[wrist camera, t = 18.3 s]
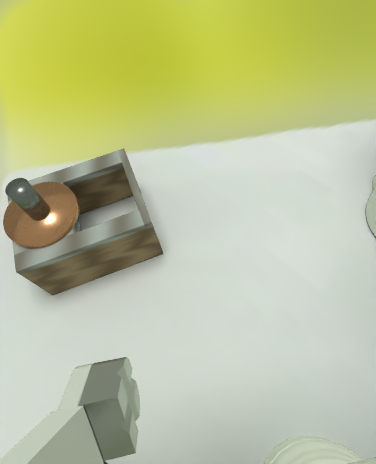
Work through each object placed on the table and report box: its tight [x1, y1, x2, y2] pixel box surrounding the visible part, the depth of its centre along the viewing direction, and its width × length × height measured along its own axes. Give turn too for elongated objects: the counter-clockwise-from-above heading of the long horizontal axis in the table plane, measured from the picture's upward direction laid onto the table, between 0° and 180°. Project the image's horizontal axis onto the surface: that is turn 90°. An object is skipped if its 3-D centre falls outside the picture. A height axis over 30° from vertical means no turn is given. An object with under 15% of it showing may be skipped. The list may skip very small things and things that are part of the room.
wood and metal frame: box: [8, 149, 163, 295], centre depth 48 cm, size 18×14×10 cm
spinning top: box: [3, 178, 81, 249], centre depth 43 cm, size 10×10×12 cm
